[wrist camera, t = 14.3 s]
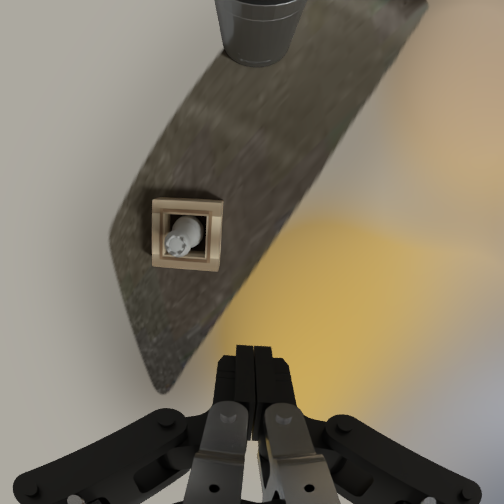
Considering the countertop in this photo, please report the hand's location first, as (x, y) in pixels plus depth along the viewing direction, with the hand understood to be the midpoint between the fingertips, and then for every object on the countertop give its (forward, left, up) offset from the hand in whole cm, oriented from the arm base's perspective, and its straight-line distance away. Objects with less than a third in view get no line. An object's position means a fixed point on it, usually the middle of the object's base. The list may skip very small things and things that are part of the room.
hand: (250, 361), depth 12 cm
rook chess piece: (+1, -8, -29) cm, 30 cm away
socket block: (+1, -8, -29) cm, 30 cm away
